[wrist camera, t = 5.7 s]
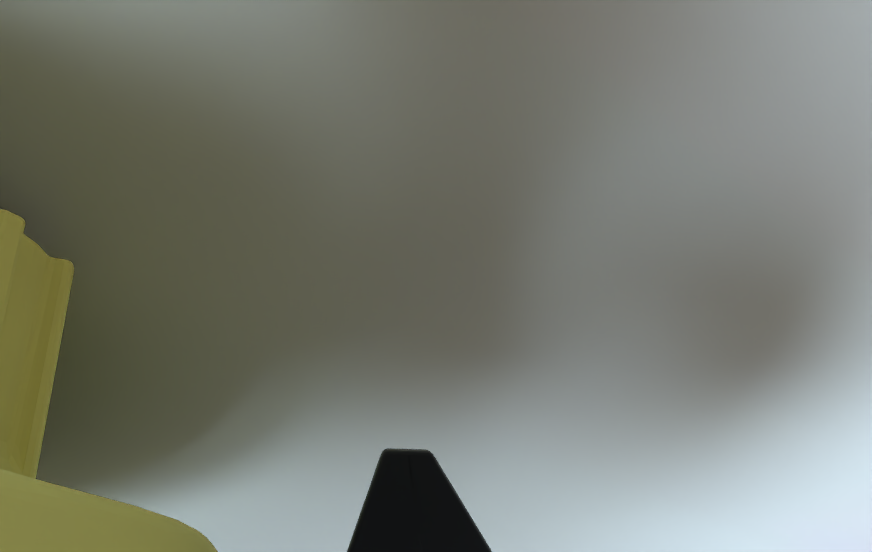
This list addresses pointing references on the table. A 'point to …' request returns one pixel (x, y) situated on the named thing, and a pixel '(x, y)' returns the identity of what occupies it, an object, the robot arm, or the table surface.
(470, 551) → the robot arm
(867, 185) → the table surface
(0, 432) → the yellow long curved piece
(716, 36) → the table surface
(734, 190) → the table surface
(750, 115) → the table surface
